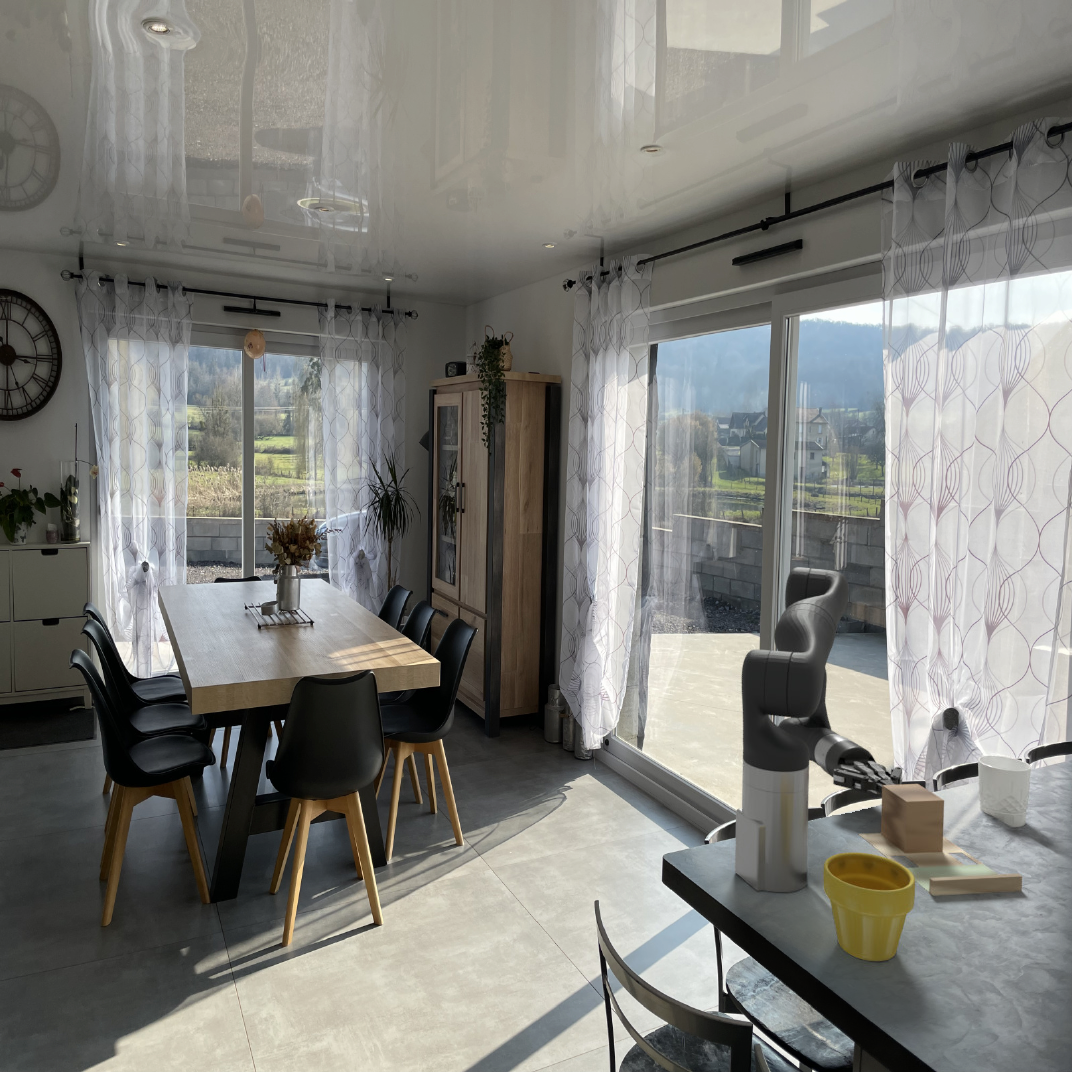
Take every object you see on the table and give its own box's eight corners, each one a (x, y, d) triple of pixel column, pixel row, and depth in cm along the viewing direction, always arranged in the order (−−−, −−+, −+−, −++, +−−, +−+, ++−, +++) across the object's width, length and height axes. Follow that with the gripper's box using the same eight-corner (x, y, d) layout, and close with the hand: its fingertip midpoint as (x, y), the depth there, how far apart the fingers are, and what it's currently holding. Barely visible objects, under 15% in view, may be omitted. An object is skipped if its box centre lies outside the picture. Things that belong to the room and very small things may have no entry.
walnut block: (880, 834, 130) (882, 785, 129) (916, 832, 130) (917, 783, 130) (905, 853, 123) (906, 801, 122) (942, 851, 123) (944, 800, 123)
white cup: (1039, 829, 135) (1041, 771, 135) (991, 829, 135) (993, 770, 135) (1012, 811, 143) (1014, 755, 143) (967, 810, 143) (969, 755, 143)
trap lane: (858, 843, 130) (858, 821, 130) (934, 839, 131) (935, 818, 131) (932, 905, 110) (933, 880, 110) (1021, 901, 111) (1022, 876, 111)
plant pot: (872, 981, 93) (874, 898, 92) (804, 937, 102) (805, 861, 101) (931, 957, 98) (934, 878, 97) (861, 917, 107) (863, 845, 106)
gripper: (809, 740, 147) (857, 773, 130) (878, 738, 148) (935, 770, 131) (808, 781, 147) (856, 819, 130) (877, 779, 149) (933, 816, 131)
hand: (896, 794), depth 130 cm, fingers closed
